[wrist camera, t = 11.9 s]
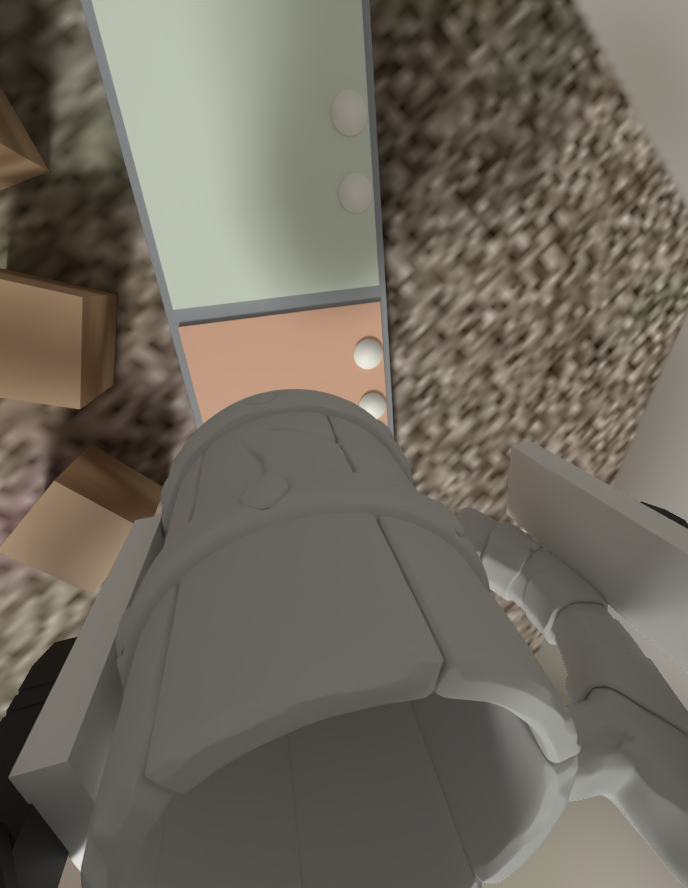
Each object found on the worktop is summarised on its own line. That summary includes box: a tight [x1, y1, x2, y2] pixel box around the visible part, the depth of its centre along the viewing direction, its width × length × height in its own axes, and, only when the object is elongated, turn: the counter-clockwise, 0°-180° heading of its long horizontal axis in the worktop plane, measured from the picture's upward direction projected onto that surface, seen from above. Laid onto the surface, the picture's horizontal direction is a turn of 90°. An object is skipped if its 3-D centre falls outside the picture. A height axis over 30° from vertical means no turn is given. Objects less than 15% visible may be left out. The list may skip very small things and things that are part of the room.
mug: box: [81, 389, 688, 888], centre depth 9 cm, size 8×12×12 cm, turn 77°
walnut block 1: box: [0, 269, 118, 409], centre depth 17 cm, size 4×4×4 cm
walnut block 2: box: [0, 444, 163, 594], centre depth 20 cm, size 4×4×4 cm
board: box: [81, 0, 394, 436], centre depth 20 cm, size 24×11×1 cm, turn 6°
